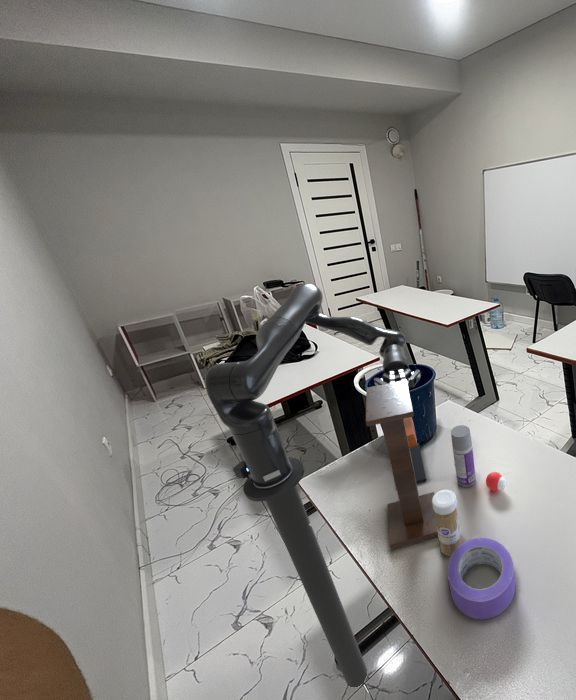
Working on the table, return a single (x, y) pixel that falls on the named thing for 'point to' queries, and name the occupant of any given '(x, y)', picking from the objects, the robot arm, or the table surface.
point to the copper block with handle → (410, 432)
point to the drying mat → (417, 463)
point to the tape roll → (487, 599)
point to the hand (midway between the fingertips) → (400, 394)
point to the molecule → (495, 481)
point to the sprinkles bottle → (447, 521)
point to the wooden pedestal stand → (401, 466)
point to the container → (463, 455)
